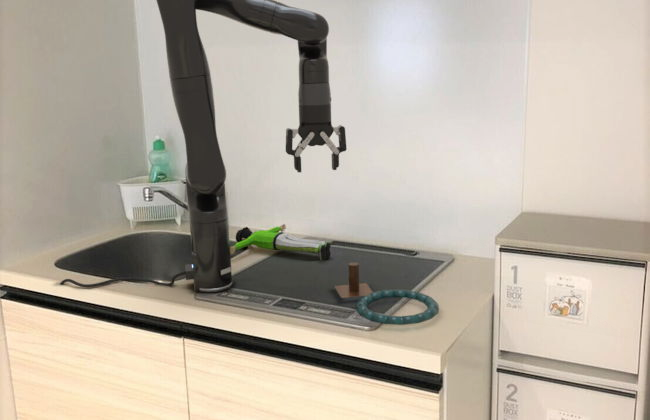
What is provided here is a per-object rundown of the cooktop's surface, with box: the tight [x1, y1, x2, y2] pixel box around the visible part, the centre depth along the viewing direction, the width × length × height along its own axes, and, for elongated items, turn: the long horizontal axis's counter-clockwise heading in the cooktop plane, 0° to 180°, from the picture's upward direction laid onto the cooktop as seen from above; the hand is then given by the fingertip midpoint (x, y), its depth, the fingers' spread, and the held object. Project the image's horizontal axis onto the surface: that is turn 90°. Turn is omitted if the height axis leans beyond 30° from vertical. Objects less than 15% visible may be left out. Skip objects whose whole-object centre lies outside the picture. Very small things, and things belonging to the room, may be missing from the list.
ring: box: [355, 289, 440, 326], centre depth 150 cm, size 18×18×2 cm
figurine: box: [230, 223, 332, 262], centre depth 193 cm, size 28×6×30 cm
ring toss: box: [333, 261, 375, 299], centre depth 160 cm, size 8×8×8 cm
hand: (316, 170), depth 164 cm, fingers open, 8 cm apart
